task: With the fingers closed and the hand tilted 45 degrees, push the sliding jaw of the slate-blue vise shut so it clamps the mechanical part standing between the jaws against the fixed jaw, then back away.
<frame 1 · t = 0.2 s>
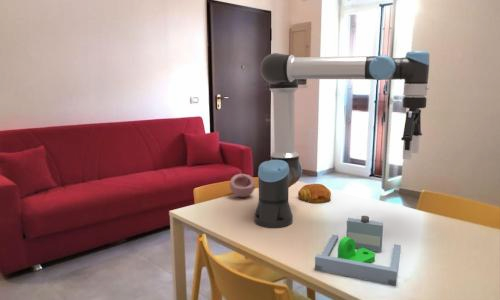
hand: (410, 155, 135), 27 cm above the table, tool pointing down, fingers open, 13 cm apart
mechanical part: (358, 262, 113), on the table
vise: (359, 259, 115), on the table
pink round pot: (242, 197, 179), on the table
slide jaw: (364, 232, 121), point 5 cm above the table, slide at 0.0 cm
croissant: (315, 199, 174), on the table
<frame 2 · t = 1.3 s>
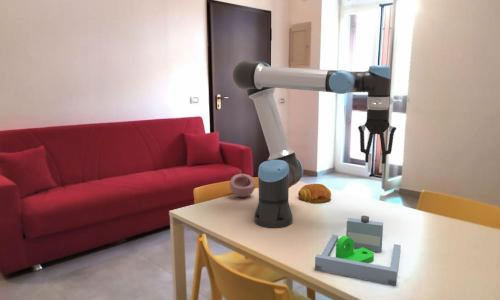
hand: (374, 171, 140), 21 cm above the table, tool pointing down, fingers open, 3 cm apart
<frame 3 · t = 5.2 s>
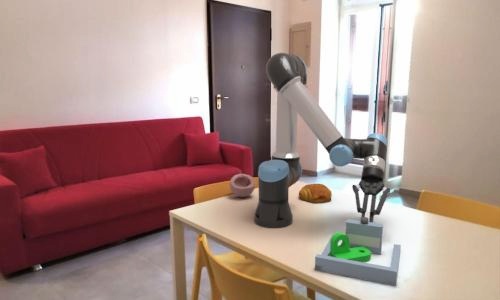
hand: (365, 231, 122), 5 cm above the table, tool tilted 45°, fingers closed
mechanical part: (352, 259, 115), on the table
slide jaw: (363, 234, 120), point 5 cm above the table, slide at 1.4 cm, touching gripper
everything else where it was.
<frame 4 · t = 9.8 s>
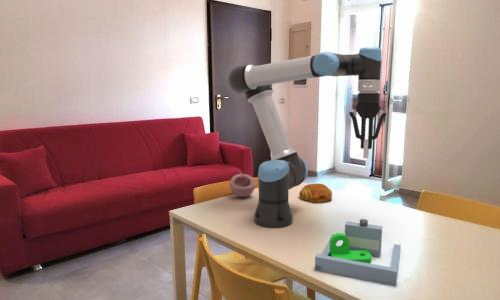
hand: (365, 157, 136), 26 cm above the table, tool pointing down, fingers closed
mechanical part: (351, 261, 114), on the table
slide jaw: (363, 236, 118), point 5 cm above the table, slide at 3.4 cm
everything else where it was.
at the end: slide jaw slide at 3.4 cm; mechanical part inside the target area (2.3 cm from its centre), on the table; mechanical part tilted 0° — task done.
